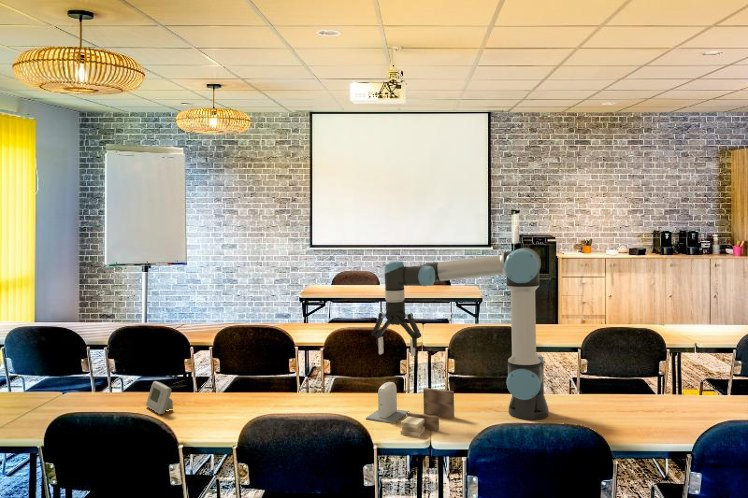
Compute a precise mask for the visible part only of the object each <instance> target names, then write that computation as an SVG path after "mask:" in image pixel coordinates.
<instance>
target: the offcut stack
mask: <svg viewBox="0 0 748 498" xmlns="http://www.w3.org/2000/svg"><path fill="white" fill-rule="evenodd" d="M423 424H424V419H423V418H416V417H407V416H406V418H405V419H404V420H402V421H400V427H401V429H400V433H399V434H400V435H402V434H403V436H411V437H420V436H421V435H422V434H423V433H424V432H425V431H426V429H425V426H423Z"/></svg>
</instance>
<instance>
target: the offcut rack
mask: <svg viewBox="0 0 748 498" xmlns="http://www.w3.org/2000/svg"><path fill="white" fill-rule="evenodd" d="M422 390H423V392H422V393H423V394H422V395H423V398H422V399H423V414H421V413H420V414H419V413H415V412H414V413H413V412H409V413H407V415H406V418H407V417H416V418H423V419H424V424H423V426H425V431H426V430H427V431H434V432H440V418H441V417H442V418H451V419H454V418H455V391H454V390H445V389H436V388H428V387H424V388H423V389H422Z"/></svg>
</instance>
